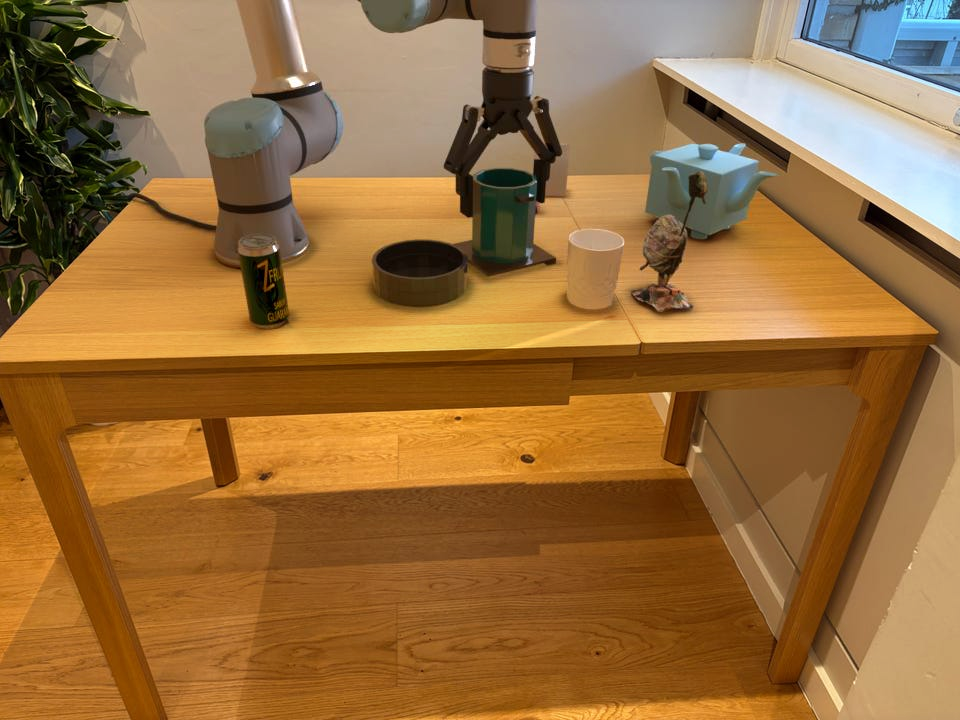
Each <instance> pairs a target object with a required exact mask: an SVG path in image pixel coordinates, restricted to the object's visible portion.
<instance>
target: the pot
mask: <svg viewBox="0 0 960 720" xmlns="http://www.w3.org/2000/svg"><path fill="white" fill-rule="evenodd" d="M472 176H473V217H471V220H472V223H471V226H472V229H471V240H472V252H473V254H474V256H476V257H477V258H479V259H481V260H483V261H486V262H491V263H498V264H510V263H517V262H521V261H524V260H526V259H528V258H529V257H530V256H531V255H532V252H533V243H534V238H535V220H536V208H535V207H536V190H537V179H536V175H534V174H533V172H530V171H528V170H525V169H519V168H515V167H514V168H513V167H492V168H486V169H481V170H479V171H477V172H475V173H473V174H472Z"/></svg>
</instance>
